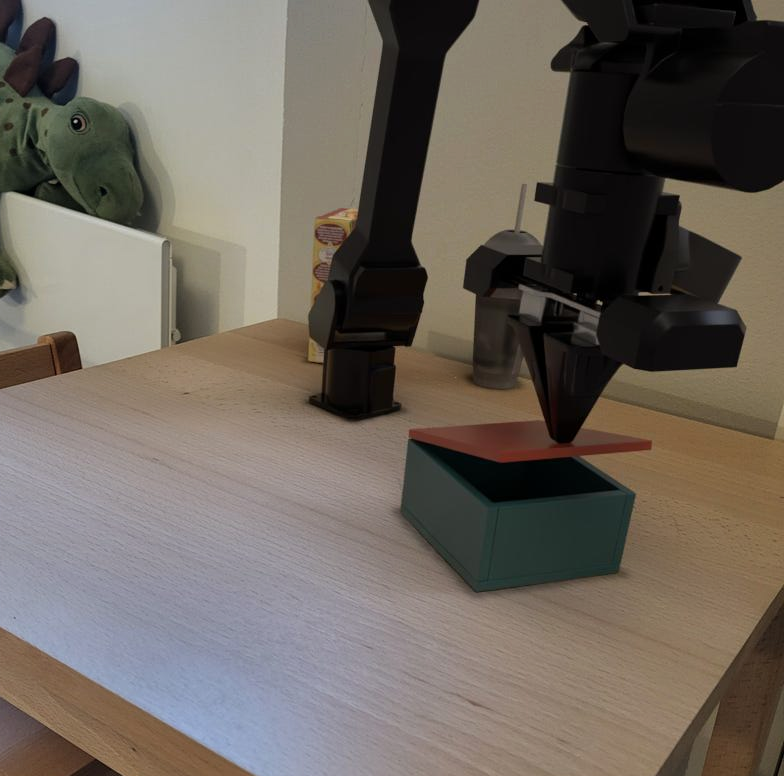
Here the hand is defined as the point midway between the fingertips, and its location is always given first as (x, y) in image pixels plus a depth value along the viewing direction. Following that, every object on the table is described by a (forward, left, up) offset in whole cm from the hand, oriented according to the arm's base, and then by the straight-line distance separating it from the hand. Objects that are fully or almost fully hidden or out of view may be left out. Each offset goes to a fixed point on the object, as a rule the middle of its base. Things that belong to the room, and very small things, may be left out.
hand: (561, 441), depth 55 cm
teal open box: (-4, +1, -9) cm, 10 cm away
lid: (-4, +1, -2) cm, 4 cm away
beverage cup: (-28, +29, -9) cm, 42 cm away
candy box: (-44, +21, -9) cm, 50 cm away
